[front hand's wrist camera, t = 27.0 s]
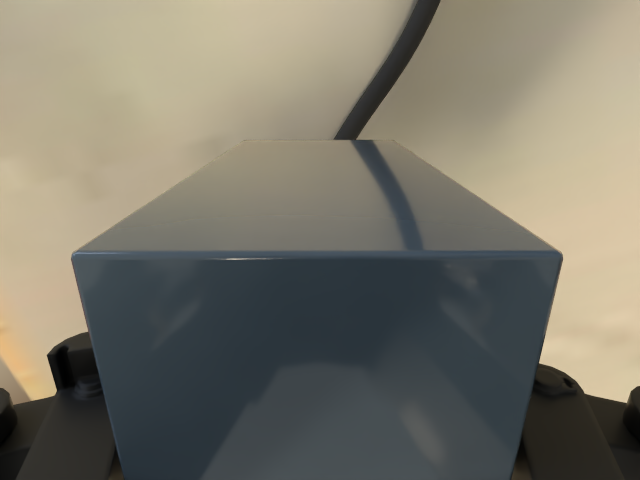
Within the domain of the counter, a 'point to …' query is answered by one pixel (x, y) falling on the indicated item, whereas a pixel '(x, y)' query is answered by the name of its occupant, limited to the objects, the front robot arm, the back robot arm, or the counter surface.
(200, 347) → the brick
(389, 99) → the counter surface
